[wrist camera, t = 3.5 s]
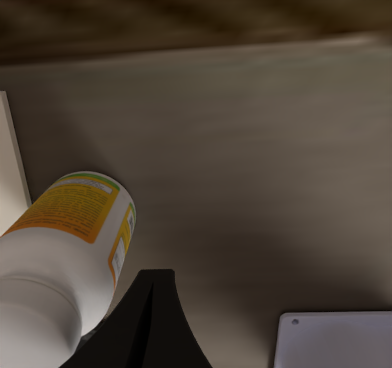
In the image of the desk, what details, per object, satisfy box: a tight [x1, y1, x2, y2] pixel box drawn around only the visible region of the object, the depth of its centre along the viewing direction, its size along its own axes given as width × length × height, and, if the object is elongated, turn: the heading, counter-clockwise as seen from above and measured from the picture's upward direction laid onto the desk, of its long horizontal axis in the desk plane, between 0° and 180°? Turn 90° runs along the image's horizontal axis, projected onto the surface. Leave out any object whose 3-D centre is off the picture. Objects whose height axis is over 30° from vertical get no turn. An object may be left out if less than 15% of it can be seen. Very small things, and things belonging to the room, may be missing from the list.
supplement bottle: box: [0, 171, 136, 368], centre depth 15 cm, size 5×5×10 cm
